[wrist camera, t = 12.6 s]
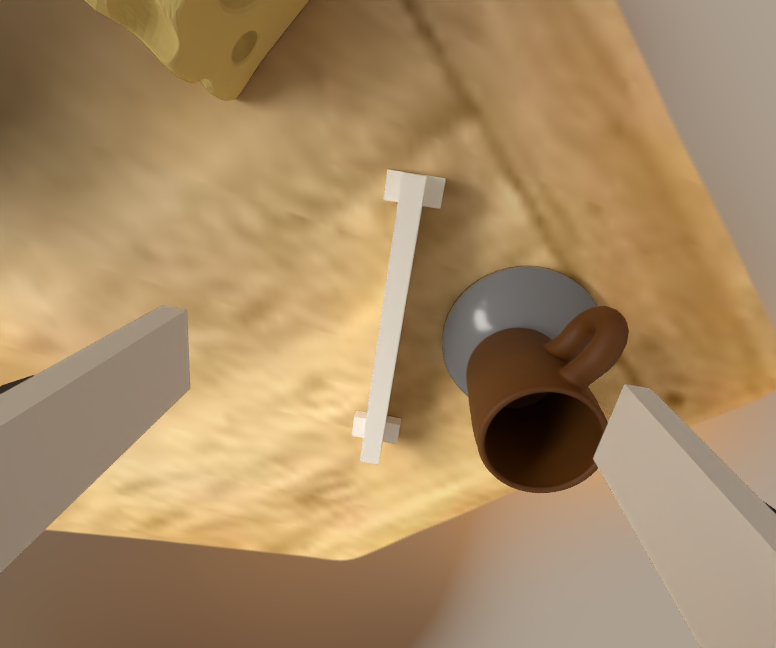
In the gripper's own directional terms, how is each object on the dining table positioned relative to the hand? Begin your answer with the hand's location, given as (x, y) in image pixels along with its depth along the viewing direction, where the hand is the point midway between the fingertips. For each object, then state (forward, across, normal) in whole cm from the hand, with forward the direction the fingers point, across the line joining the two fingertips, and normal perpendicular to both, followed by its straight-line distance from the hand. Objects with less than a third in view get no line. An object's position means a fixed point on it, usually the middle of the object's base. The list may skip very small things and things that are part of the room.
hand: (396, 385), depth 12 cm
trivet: (+19, +9, -6) cm, 22 cm away
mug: (+19, +10, -6) cm, 22 cm away
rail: (+20, -1, -6) cm, 20 cm away
